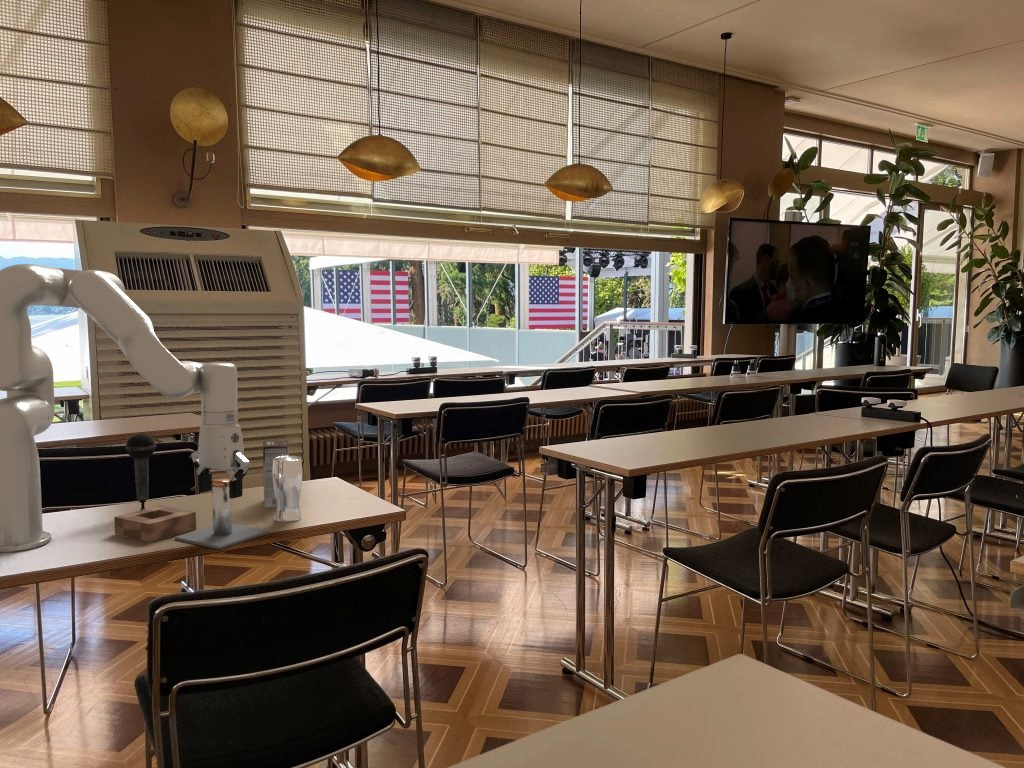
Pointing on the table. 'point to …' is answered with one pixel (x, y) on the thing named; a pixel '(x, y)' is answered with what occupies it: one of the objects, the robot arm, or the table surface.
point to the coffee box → (271, 468)
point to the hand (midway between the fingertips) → (220, 494)
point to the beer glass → (287, 487)
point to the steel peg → (221, 508)
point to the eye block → (155, 523)
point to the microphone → (141, 462)
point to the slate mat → (219, 542)
